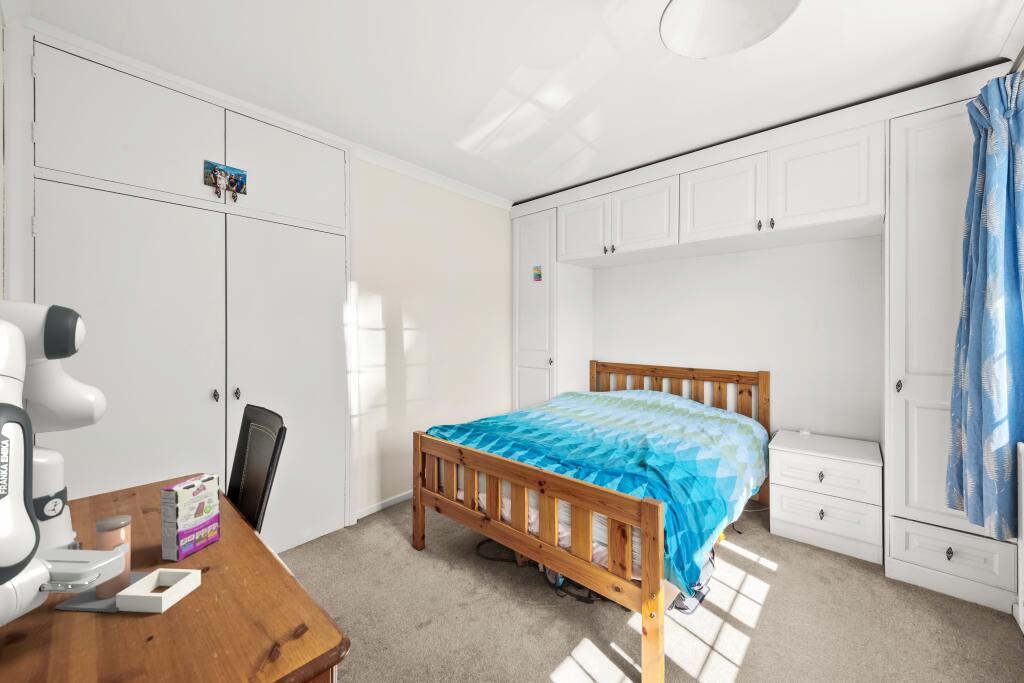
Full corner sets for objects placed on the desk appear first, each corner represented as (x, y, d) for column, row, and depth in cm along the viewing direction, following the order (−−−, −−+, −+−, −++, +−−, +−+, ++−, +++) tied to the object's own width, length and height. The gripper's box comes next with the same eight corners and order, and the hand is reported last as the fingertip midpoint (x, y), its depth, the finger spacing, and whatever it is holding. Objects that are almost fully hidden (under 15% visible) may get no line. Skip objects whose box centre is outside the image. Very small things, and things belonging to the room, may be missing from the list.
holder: (116, 610, 79) (116, 594, 79) (159, 582, 88) (159, 568, 88) (162, 612, 78) (162, 596, 78) (200, 584, 87) (200, 569, 87)
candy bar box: (204, 537, 108) (204, 473, 107) (220, 539, 107) (220, 474, 106) (159, 560, 97) (159, 488, 96) (177, 562, 96) (177, 490, 95)
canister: (86, 598, 81) (87, 525, 81) (114, 583, 86) (114, 514, 86) (112, 600, 81) (112, 526, 81) (138, 584, 86) (138, 515, 86)
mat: (55, 609, 79) (55, 606, 79) (118, 573, 91) (118, 570, 91) (115, 612, 78) (116, 609, 78) (171, 575, 90) (171, 573, 90)
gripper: (75, 570, 67) (153, 531, 81) (-45, 566, 68) (53, 528, 82) (75, 610, 67) (153, 564, 81) (-45, 605, 68) (53, 560, 82)
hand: (102, 545), depth 82 cm, fingers open, 8 cm apart
